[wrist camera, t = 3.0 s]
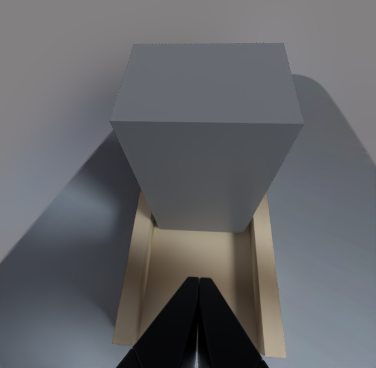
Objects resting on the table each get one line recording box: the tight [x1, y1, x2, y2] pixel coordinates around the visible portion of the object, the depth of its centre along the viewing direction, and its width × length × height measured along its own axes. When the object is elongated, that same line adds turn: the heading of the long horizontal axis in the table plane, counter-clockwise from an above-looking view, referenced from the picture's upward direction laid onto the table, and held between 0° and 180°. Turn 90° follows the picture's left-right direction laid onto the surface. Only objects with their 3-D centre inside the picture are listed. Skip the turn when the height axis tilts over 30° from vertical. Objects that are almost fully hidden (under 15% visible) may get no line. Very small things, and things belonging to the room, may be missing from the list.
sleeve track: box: [112, 190, 286, 358], centre depth 15 cm, size 18×9×6 cm, turn 176°
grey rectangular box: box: [110, 43, 304, 233], centre depth 12 cm, size 4×6×10 cm
